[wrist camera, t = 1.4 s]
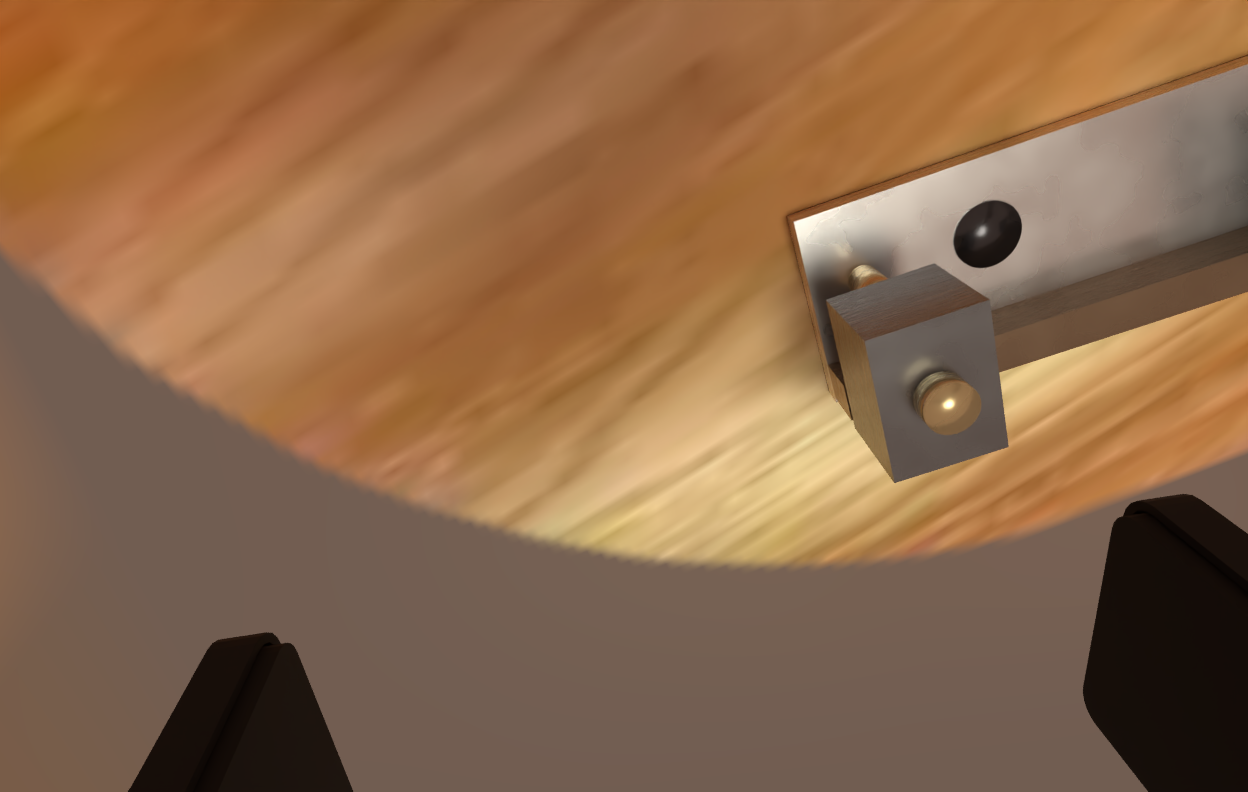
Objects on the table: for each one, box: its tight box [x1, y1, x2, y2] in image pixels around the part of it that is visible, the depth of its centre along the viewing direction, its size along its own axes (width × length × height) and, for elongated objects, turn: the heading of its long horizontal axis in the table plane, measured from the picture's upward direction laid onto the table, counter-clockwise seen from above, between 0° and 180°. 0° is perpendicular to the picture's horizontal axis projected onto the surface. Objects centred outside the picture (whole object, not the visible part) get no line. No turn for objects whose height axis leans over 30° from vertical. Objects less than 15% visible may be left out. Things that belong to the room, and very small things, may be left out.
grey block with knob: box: [826, 263, 1008, 483], centre depth 28 cm, size 4×6×7 cm
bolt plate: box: [787, 55, 1248, 420], centre depth 28 cm, size 24×8×7 cm, turn 109°
